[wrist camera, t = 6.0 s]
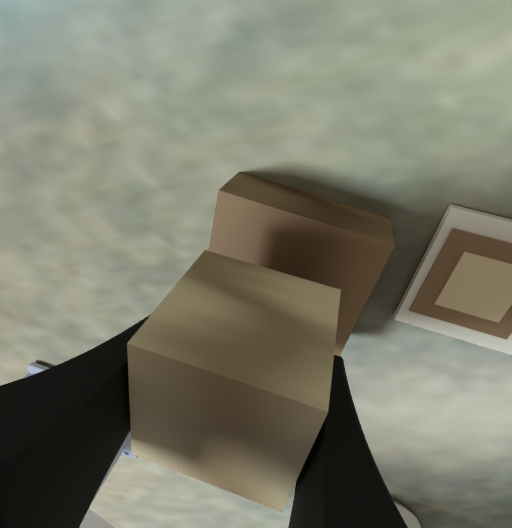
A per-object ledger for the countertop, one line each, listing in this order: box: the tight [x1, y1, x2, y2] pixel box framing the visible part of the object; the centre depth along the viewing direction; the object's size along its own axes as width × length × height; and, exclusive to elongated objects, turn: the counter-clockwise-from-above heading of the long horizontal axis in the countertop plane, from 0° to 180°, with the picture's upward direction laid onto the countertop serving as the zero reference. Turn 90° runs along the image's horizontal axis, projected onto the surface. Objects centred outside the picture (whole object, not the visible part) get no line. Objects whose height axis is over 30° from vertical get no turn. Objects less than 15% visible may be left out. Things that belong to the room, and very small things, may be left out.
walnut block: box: [209, 172, 395, 356], centre depth 16 cm, size 7×7×3 cm
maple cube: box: [127, 250, 341, 512], centre depth 12 cm, size 5×5×5 cm
